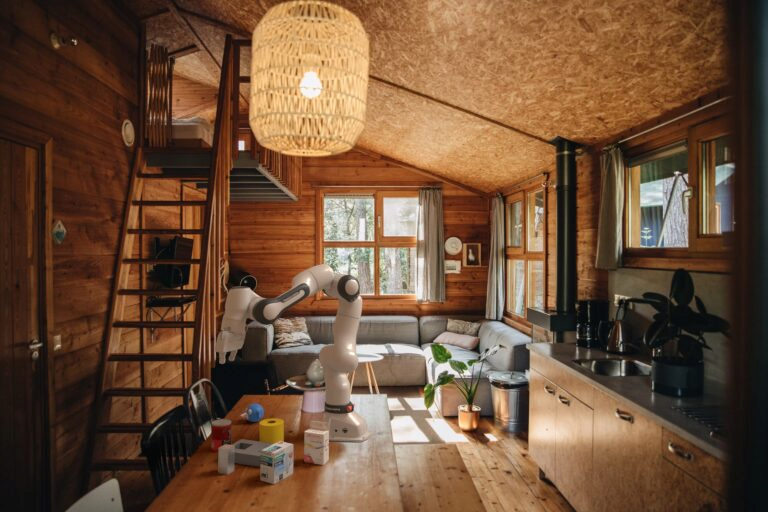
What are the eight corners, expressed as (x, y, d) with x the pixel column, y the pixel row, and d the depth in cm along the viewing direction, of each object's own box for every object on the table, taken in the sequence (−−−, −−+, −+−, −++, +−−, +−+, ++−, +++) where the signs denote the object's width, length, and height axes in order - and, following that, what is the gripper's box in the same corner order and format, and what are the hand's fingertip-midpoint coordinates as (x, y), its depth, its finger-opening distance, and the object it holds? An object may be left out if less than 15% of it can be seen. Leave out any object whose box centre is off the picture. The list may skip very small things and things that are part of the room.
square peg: (234, 470, 179) (234, 445, 179) (227, 474, 175) (227, 449, 175) (225, 468, 180) (225, 444, 180) (218, 473, 176) (218, 448, 176)
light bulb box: (273, 485, 166) (274, 453, 167) (259, 480, 170) (259, 449, 170) (294, 473, 176) (294, 443, 176) (280, 469, 179) (280, 440, 179)
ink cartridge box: (303, 462, 186) (303, 423, 186) (309, 457, 190) (309, 419, 191) (323, 465, 183) (323, 426, 183) (329, 460, 187) (329, 422, 188)
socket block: (284, 455, 193) (284, 444, 193) (266, 467, 180) (266, 457, 181) (241, 448, 199) (241, 439, 199) (221, 460, 187) (221, 450, 187)
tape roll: (272, 438, 211) (272, 416, 212) (288, 443, 206) (288, 421, 206) (254, 445, 203) (254, 422, 203) (270, 450, 197) (270, 427, 198)
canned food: (225, 452, 195) (225, 425, 195) (207, 451, 196) (207, 424, 197) (234, 446, 202) (235, 419, 203) (217, 444, 204) (217, 418, 204)
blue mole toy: (233, 422, 234) (234, 404, 234) (256, 416, 242) (256, 399, 242) (245, 428, 225) (245, 409, 225) (268, 422, 233) (268, 405, 233)
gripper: (230, 329, 180) (224, 366, 178) (249, 326, 200) (243, 360, 199) (214, 326, 180) (207, 363, 179) (234, 324, 200) (228, 357, 199)
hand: (226, 362), depth 189 cm, fingers open, 8 cm apart
